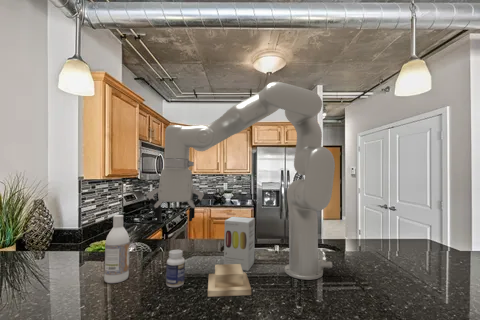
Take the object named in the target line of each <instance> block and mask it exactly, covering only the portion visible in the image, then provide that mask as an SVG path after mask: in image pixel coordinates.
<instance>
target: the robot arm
mask: <svg viewBox="0 0 480 320" xmlns="http://www.w3.org/2000/svg"><path fill="white" fill-rule="evenodd" d="M322 107H323V101H322V98H321V96H320V95H319V94H318V93H317V92H315V91H313V90H311V89H307V88H304V87H302V86H301V87H300V86H297V85H293V84H290V83H286V82H281V81H271V82H269V83H268V84H266V85H265V86H264V87H263V88H262V89H261V90H260V91H259V92H257V93H255V94H253V95H252V96H250V97H247V98H246V99H244V100H242V101H240V102H238V103H236V104H235V105H232V106H231V107H230V108H229V109H227V110H226V111H225V112H224V113H223V114H222V115H221V116H220V117H218V118H217V119H215V120H214V121H213V122H211V123H209V124H208V125H205V124H201V125H200V124H198V125H182V124H181V125H179V124H171V125H170V124H169V125H168V126H166V128H165V133H164V136H165V137H164V164H163V169H161V172H160V176H159V183H158V187H157V188H155V189H153V190H151V191H149V192H147V193H146V196H147V198H148V200H149V202H150V204H151V205H153V207H154V209H155V210H154V211H155V212H154V213H155V215H154V218H155V219H156V222H159V221H161V220H162V218H163V217H162V214H163V213H162V211H163V208H162V204H163V203H164V202H165V203H166V202H167V203H187V204H188V205H189V209H188V211H189V213H188V221H189V222H192V221H193V219H195V213H196V210H195V208H196V207H197V206H198V204H200V203H201V201H202V199H203V198H204V195H205V193H203V192H202V191H199V190H198V189H196V188H194V183H193V181H194V180H193V171H192V169H190V167H194V166H195V162H194V161H191V160H190V148H192V149H194V150H195V151H197V152H205V151H208V150H209V149H211V148H212V147H215V146H216V145H218V144H220V143H222V142H223V141H225V140H227V139H228V138H230V137H232V136H235V135H237V134H239V133H241V132H242V131H244V130H245V129H248V128H249V127H251V126H253V125H255V124H256V123H258V122H260V121H262V120H263V119H265V118H267V117H268V116H270V115H273V114H274V113H276V112H277V111H278V110H283V111H284V115H285V118H286V119H287V121H288V122H290V124H291V125H292V126H293V127H294V129H295V131H296V144H295V151H294V153H295V154H294V160H293V168H294V170H295V172H296V173H297V174H299V175H301V176H304V178H303V179H302V178H301V179H297V180H294V181H291V183H289V185H288V188H287V190H286V201H287V207H288V230H289V231H288V234H289V235H288V247H289V248H288V249H289V250H288V251H289V254H288V255H289V259H288V260H289V262H288V263H289V264H287V265H285V266H284V272H285V274H286V275H287V276H289V277H291V278H295V279H298V280H306V281H311V280H318V279H320V278H322V276H323V274H324V271H323V269H324V268H326V269H327V268H329V269H331V268H333V262H332V261H325V260H326V259H321V260H320V259H319V251H318V250H319V244H318V243H319V239H318V238H319V237H318V236H319V232H318V231H319V227H318V223H319V222H318V221H319V220H318V214H317V211H318V212H320V211H323V210H325V208H327V207H328V205H329V204H330V202H331V199H332V194H333V186H334V177H335V169H336V166H335V165H336V163H335V158H334V155H333V153H332V151H330V149H328V148H326V147H325V146H322V138H323V133H322V132H323V131H322V129H321V126H320V124H319V122H318V120H317V119H316V118H315V117H316V116H317V115H318V114H319V113H320V112H321V110H322ZM156 194H157V197H158V200H156V199H155V197H154V195H156ZM194 194H195V195H197V196H198V197H197V198H196V200H195V201H194V200H193V197H194Z"/></svg>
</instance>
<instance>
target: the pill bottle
mask: <svg viewBox="0 0 480 320" xmlns="http://www.w3.org/2000/svg"><path fill="white" fill-rule="evenodd" d="M168 255H169V257H168V258H167V260H166V271H165V272H166V274H165V275H166V276H165V277H166V278H165V284H166V286H167V287H168V288H169V287H170V288H178V287H181V286H183V285H184V283H185V277H186V276H185V273H186V268H185V265H186V262H185V261H186V260H185V258H184V257H183V255H184V252H183V250H181V249H172V250H169V253H168Z"/></svg>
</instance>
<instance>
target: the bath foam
mask: <svg viewBox="0 0 480 320" xmlns="http://www.w3.org/2000/svg"><path fill="white" fill-rule="evenodd" d="M112 221H113V222H112V226H113V227H112V228H111V230H110V231H109V233H108V234H107V236H106V238H105V239H106V240H105V245H104V247H105V250H104V275H103V277H104V278H103V280H104V282H105V283H106V284H118V283H121V282H124V281H126V280H128V278H129V276H130V275H129V273H130V272H129V271H130V245H131V244H130V243H131V242H130V237H129V236H130V235H129V233H128V231H127V230H126V228H125V226H124V214H115V215H113V217H112Z"/></svg>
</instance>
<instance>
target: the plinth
mask: <svg viewBox="0 0 480 320" xmlns="http://www.w3.org/2000/svg"><path fill="white" fill-rule="evenodd" d="M231 296H234V297H235V296H237V297H238V296H252V287H251V284H250V280H249V278H248V274H247V271H246V272H244V270H242V267H241V264H224V263H222V264H221V263H220V264H215V266H214V273H208V283H207V297H209V298H211V297H231Z"/></svg>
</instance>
